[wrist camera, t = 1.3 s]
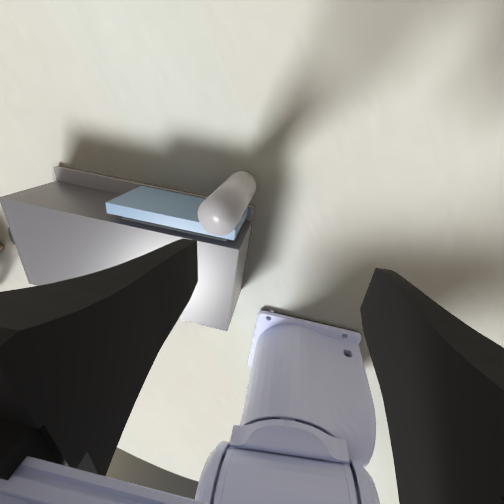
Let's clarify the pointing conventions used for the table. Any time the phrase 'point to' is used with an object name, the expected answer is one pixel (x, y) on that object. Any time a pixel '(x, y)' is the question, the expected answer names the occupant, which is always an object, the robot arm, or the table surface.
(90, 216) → the housing
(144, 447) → the table surface
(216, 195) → the door
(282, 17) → the table surface
